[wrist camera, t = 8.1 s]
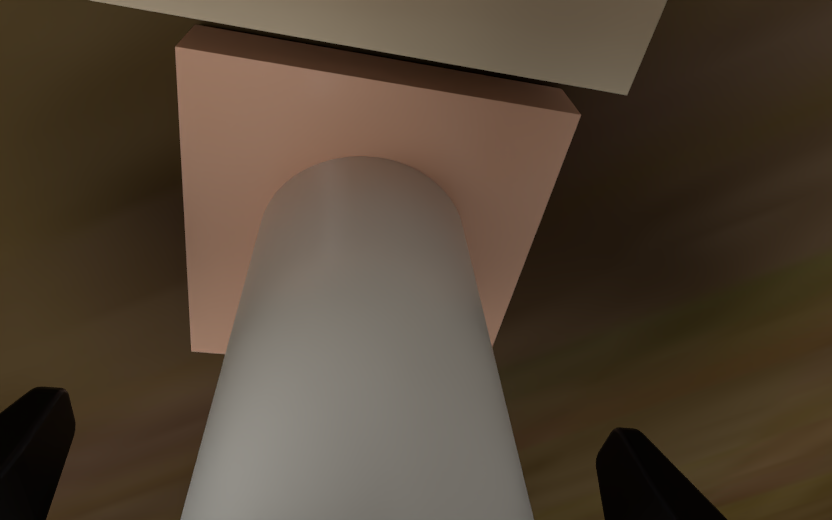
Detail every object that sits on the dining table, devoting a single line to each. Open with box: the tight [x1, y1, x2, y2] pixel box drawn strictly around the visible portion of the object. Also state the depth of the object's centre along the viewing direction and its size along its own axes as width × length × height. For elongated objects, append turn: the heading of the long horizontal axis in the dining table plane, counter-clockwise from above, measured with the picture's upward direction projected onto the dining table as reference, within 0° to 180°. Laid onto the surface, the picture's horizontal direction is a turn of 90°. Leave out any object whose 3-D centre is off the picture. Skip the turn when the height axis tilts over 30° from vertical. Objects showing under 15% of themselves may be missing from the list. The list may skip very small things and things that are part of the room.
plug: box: [181, 156, 534, 520], centre depth 9 cm, size 5×5×10 cm
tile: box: [175, 25, 581, 354], centre depth 14 cm, size 8×8×2 cm
